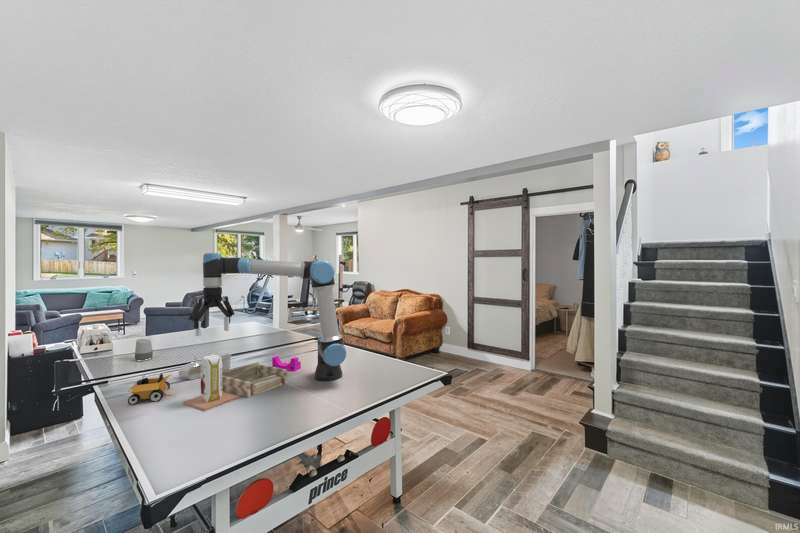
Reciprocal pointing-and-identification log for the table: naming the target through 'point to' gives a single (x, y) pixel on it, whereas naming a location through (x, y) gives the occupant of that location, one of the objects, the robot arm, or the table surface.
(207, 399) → the juice carton
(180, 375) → the vr headset
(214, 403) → the pad
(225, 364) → the teacup
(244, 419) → the table surface
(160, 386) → the yellow toy car
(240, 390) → the birch rack
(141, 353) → the smart speaker
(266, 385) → the offcut stack
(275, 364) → the toy block
